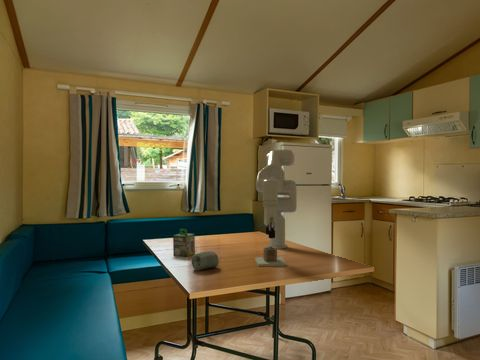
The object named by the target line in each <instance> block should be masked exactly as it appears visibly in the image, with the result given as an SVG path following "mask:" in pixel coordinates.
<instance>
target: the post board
mask: <svg viewBox="0 0 480 360" xmlns="http://www.w3.org/2000/svg"><path fill="white" fill-rule="evenodd" d="M267 247H268V249H272V246H268V245H267ZM254 260H255V263H256V265H257V266H258V267H286V266H287V263H286V261H285V260H284V259H283V257H281V256H277V262H265V261H264V256H262V257H261V256H259V257H256V256H255V258H254Z"/></svg>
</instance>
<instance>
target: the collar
mask: <svg viewBox="0 0 480 360" xmlns="http://www.w3.org/2000/svg"><path fill="white" fill-rule="evenodd" d="M263 257H264V261H265V262H277V257H278V249H276V248H275V247H272V249H268V246H267V247H263Z"/></svg>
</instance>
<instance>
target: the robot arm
mask: <svg viewBox="0 0 480 360" xmlns="http://www.w3.org/2000/svg"><path fill="white" fill-rule="evenodd" d="M265 158H266V159H265V160H266V166H264V167H263V168H262V169H261V170H259V172H257V176H256V180H255V189H256V191H257V192H259V193H262V207H264V209H263V211H264V213H263V223H264V226H265V235H268V238H269V244H267V247H268V246H272V247H275V248H276V249H277V250H278V249H279V250H282V249H287V248H288V244H286V218H285V217H284V215H283V214H282V213H295V212H296V211H297V199H298V198H297V184H296V181H294V180H291V179H285V171H284V170H283V167H284V166H286V167H289V166H293V165H294V163H295V155H294V152H293V151H292V150H291V149H272V150H270V151H269V152H268V153H267V154H266V157H265ZM282 166H283V167H282ZM280 196H281V197H280ZM282 196H283V197H282ZM284 196H288V197H284Z"/></svg>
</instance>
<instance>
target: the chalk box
mask: <svg viewBox="0 0 480 360" xmlns="http://www.w3.org/2000/svg"><path fill="white" fill-rule="evenodd" d="M195 236H196V234H195V233H188V229H187V228H179V233H177V234H174V235H173V236H172V238H173V239H172V240H173V242H172V244H173V245H172V246H173V249H172V250H173V256H177V257H184V258H185V257H186V258H187V257H189V256H193V255H194V254H196V238H195Z"/></svg>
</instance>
